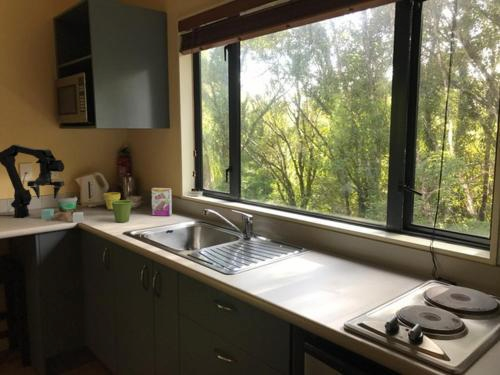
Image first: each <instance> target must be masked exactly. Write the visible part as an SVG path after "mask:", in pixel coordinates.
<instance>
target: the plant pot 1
mask: <svg viewBox="0 0 500 375" xmlns="http://www.w3.org/2000/svg"><path fill="white" fill-rule="evenodd" d="M103 199H104V201H105V205H106V208H107V210H113V207H112V203H111V201H117V200H120V199H121V192H106V193H103Z"/></svg>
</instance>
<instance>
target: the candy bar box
mask: <svg viewBox="0 0 500 375" xmlns="http://www.w3.org/2000/svg"><path fill="white" fill-rule="evenodd" d="M150 192H151V193H150V194H151V216H152V217H154V216H155V217H171V216H172V215H173V213H172V212H173V211H172V208H173V206H172V204H173V203H172V198H173V197H172V188H171V187H169V188H167V187H166V188H165V187H152V188H151V191H150Z"/></svg>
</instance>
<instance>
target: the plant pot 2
mask: <svg viewBox="0 0 500 375" xmlns="http://www.w3.org/2000/svg"><path fill="white" fill-rule="evenodd" d="M133 202H134V201H133V200H129V199H121V200H120V199H119V200H117V201H111V203H112V207H113V209H112V211H113V215H114V221H115V222H116V223H128V222H129V220H130V214H131V210H132V209H131V207H132V204H133Z"/></svg>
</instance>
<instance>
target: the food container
mask: <svg viewBox="0 0 500 375" xmlns="http://www.w3.org/2000/svg"><path fill="white" fill-rule="evenodd" d="M77 201H78V197H77V196H76V195H75V196H74V197H66V198H57V200H56V202H57V205H58V209H59V210H58V212H71V214H72V215H73V213H75V212H77Z"/></svg>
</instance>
